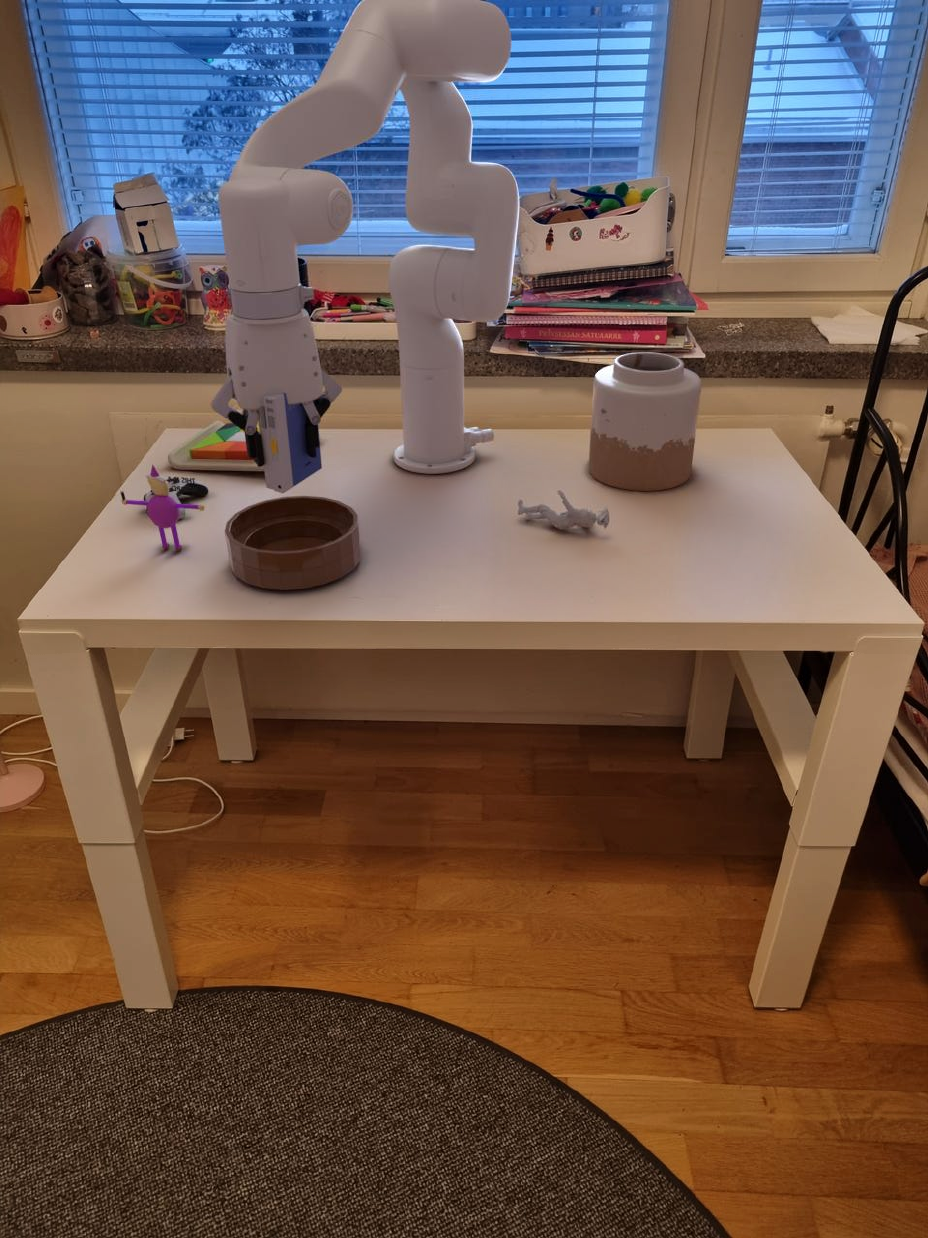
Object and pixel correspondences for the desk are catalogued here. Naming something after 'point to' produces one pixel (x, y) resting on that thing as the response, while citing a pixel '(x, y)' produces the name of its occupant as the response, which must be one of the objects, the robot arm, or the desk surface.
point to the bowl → (293, 542)
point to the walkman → (285, 443)
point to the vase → (644, 422)
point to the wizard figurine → (164, 505)
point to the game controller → (182, 492)
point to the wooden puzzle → (215, 450)
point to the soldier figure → (565, 515)
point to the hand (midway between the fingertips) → (284, 456)
